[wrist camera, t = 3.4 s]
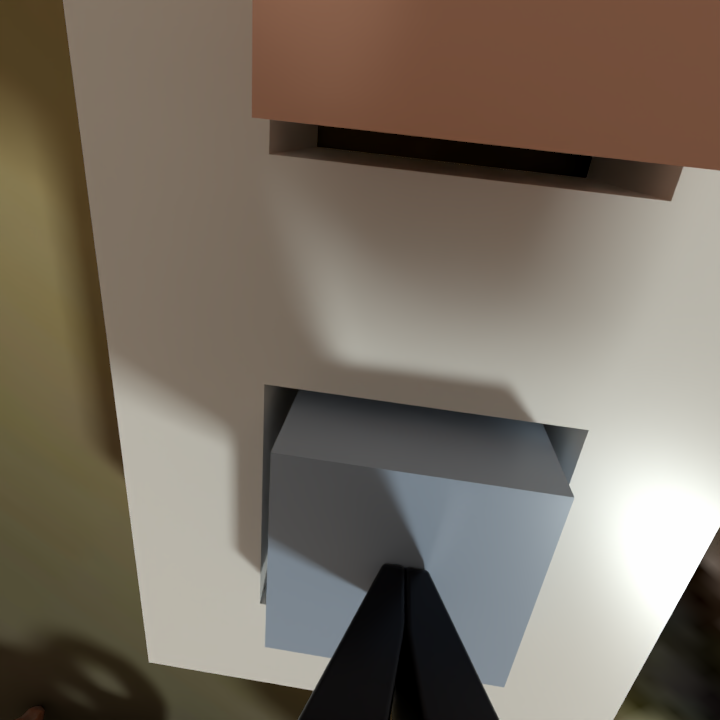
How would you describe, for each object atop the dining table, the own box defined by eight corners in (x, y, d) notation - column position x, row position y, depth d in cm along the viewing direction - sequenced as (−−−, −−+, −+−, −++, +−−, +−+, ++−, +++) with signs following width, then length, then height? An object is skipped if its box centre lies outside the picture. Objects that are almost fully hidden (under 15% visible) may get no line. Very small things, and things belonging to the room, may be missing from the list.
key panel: (1000, -485, 7) (1661, -1182, 3) (560, 604, 16) (601, 740, 13) (158, -525, 7) (-89, -1150, 4) (206, 548, 17) (149, 662, 13)
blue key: (534, 404, 11) (574, 497, 8) (485, 569, 13) (503, 687, 10) (306, 372, 11) (270, 452, 8) (296, 540, 13) (264, 647, 10)
